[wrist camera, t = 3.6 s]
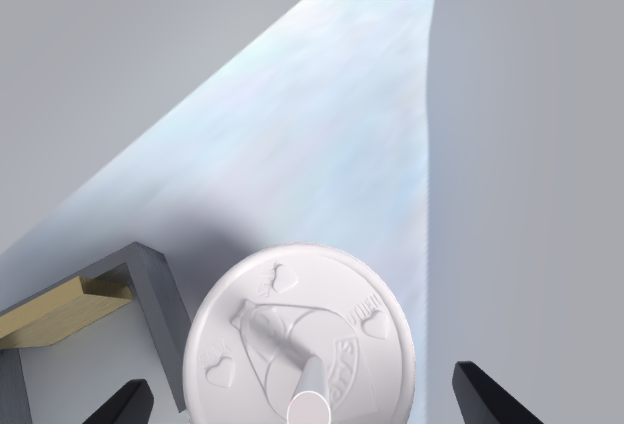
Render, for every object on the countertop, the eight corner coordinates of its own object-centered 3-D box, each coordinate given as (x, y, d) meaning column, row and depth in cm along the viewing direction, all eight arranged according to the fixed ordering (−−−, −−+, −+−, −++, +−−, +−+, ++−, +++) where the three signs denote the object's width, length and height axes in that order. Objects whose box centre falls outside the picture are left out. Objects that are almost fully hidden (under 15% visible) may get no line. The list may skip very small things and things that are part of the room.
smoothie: (329, 430, 15) (377, 1079, 2) (232, 356, 17) (-96, 480, 4) (385, 319, 17) (596, 306, 4) (294, 262, 18) (229, 112, 5)
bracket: (217, 388, 16) (186, 408, 12) (30, 507, 14) (-72, 572, 11) (162, 253, 19) (124, 236, 15) (0, 340, 17) (-88, 345, 14)
